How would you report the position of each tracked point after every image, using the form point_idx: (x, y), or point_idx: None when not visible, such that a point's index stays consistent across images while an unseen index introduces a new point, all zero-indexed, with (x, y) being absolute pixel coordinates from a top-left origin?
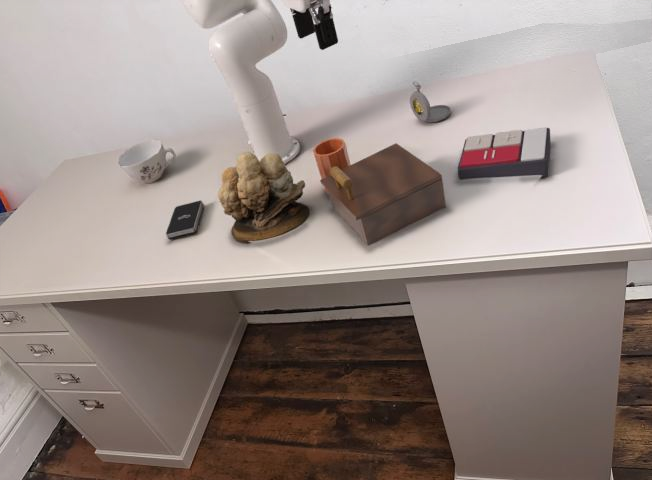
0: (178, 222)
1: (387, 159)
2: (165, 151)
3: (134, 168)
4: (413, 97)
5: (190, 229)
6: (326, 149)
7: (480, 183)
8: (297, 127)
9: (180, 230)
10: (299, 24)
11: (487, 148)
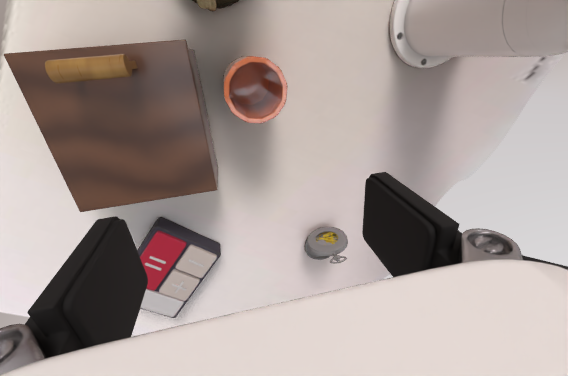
0: None
1: (176, 164)
2: None
3: None
4: (338, 243)
5: None
6: (278, 88)
7: (145, 232)
8: (473, 84)
9: None
10: (396, 215)
11: (176, 264)
